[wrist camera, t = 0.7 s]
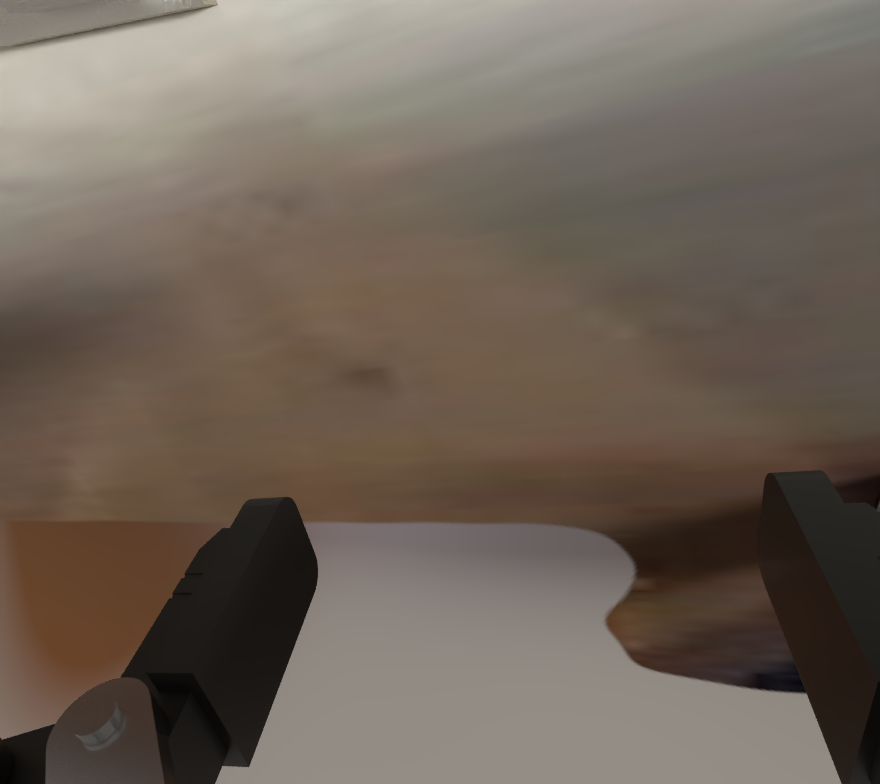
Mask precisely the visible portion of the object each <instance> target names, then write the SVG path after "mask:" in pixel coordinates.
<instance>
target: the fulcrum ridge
mask: <svg viewBox="0 0 880 784" xmlns="http://www.w3.org/2000/svg"><path fill="white" fill-rule="evenodd" d="M213 5H218V4H217V1H216V0H0V47H1V46H15V45H20V44H25V43H30V42H35V41H40V40H45V39H50V38H55V37H60V36H65V35H70V34H75V33H80V32H85V31H90V30H95V29H100V28H104V27H109V26H114V25H119V24H124V23H129V22H134V21H139V20H144V19H149V18H154V17H159V16H164V15H169V14H174V13H179V12H184V11H189V10H194V9H199V8H204V7H209V6H213Z"/></svg>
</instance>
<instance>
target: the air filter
mask: <svg viewBox="0 0 880 784" xmlns="http://www.w3.org/2000/svg"><path fill="white" fill-rule="evenodd" d="M876 510H877V511H879V512H880V497H879V499H878V502H877V505H876Z"/></svg>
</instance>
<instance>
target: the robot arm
mask: <svg viewBox="0 0 880 784" xmlns="http://www.w3.org/2000/svg"><path fill="white" fill-rule="evenodd" d="M758 558H759V565H760V570H761V575H762V578H763V582H764V585H765V587H766V590H767V592H768V595H769V598H770V600H771V603H772V605H773V608H774V610H775V613H776V616H777V618H778V621H779V623H780V626H781V629H782V631H783V634H784V636H785V639H786V641H787V644H788V647H789V649H790V652H791V654H792V657H793V659H794V662H795V665H796V667H797V670H798V672H799V675H800V677H801V680H802V683H803V685H804V688H805V690H806V693H807V695H808V698H809V701H810V703H811V706H812V708H813V711H814V714H815V716H816V718H817V721H818V724H819V726H820V729H821V731H822V734H823V737H824V739H825V742H826V744H827V747H828V749H829V752H830V755H831V757H832V760H833V762H834V765H835V767H836V770H837V773H838V775H839V778H840V780H841V783H842V784H880V512H879V511H877V510H876V509H875V508H873V507H872V506H871V505H869V504H868V503H867V502H864V503H844V502H843V500H842V499H841V497H840V495H839V494H838V492H837V490H836V489H835V487H834V486H833V484H832V482H831V481H830V479H829V477H828V476H827V475H826V474H825V473H824V472H823V471H820V470H817V471H798V472H779V473H768V474H767V476H766V478H765V482H764V491H763V500H762V510H761V519H760V528H759V538H758ZM317 579H318V565H317V559H316V555H315V553H314V550H313V547H312V545H311V542H310V540H309V537H308V534H307V532H306V529H305V527H304V524H303V521H302V519H301V516H300V514H299V511H298V508H297V506H296V504H295V502H294V501H293V500H292V499H291V498H290V497H279V498H260V499H249V500H248V501H246V502H245V503H244V505H243V506H242V508H241V510H240V512H239V513H238V515H237V517H236V518H235V520H234V522H233V524H232V525H231V527H230V528H222V529H221V530H220V531H219V532H218V533H217V534H216V535H215V536H213V537H212V538H211V539H210V540H209V541H208V542H207V543H206V544H205V545H204V546H203V547H201V548H200V549H199V551H198V553H197V554H196V556H195V557H194V559H193V561H192V562H191V564H190V565H189V567H188V569H187V570H186V572H185V578H182V579H181V580H180V582H179V583H178V585H177V587H176V588H175V590H174V591H173V597H172V598H170V599H169V600H168V601H167V603H166V605H165V606H164V608H163V609H162V611H161V613H160V614H159V616H158V617H157V619H156V621H155V622H154V624H153V626H152V627H151V629H150V630H149V632H148V634H147V635H146V637H145V639H144V640H143V642H142V644H141V645H140V647H139V648H138V650H137V652H136V653H135V655H134V656H133V658H132V660H131V662H130V663H129V665H128V666H127V668H126V670H125V671H124V673H123V674H122V676H121V677H120V678H117V679H112V680H109V681H106V682H104V683H101V684H99V685H97V686H95V687H94V688H92V689H90V690H89V691H87V692H86V693H84V694H83V695H81V696H80V697H79V698H78V699H77V700H75V701H74V702H73V703H72V704H71V705H70V706H69V707H68V708H67V709H66V710H65V712H64V713H63V714H62V715H61V717H60V718H59V719H58V721H57V722H56V724H53V725H50V726H46V727H43V728H40V729H37V730H33V731H30V732H27V733H23V734H20V735H17V736H13V737H10V738H7V739H3V740H2V739H1V738H0V784H215V782H216V780H217V777H218V775H219V772H220V770H221V768H222V766H238V767H240V766H241V767H249V765H250V763H251V760H252V758H253V755H254V752H255V750H256V747H257V744H258V741H259V739H260V736H261V734H262V731H263V728H264V726H265V723H266V720H267V718H268V715H269V712H270V710H271V707H272V704H273V702H274V699H275V696H276V694H277V691H278V688H279V686H280V683H281V680H282V678H283V675H284V672H285V670H286V667H287V664H288V662H289V659H290V657H291V654H292V651H293V649H294V646H295V643H296V640H297V638H298V635H299V632H300V630H301V627H302V625H303V622H304V619H305V617H306V614H307V611H308V608H309V606H310V603H311V601H312V598H313V595H314V593H315V590H316V585H317Z"/></svg>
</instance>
